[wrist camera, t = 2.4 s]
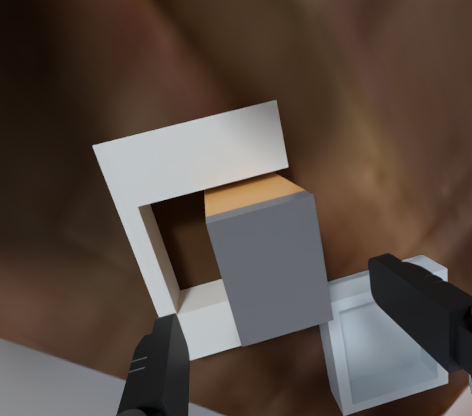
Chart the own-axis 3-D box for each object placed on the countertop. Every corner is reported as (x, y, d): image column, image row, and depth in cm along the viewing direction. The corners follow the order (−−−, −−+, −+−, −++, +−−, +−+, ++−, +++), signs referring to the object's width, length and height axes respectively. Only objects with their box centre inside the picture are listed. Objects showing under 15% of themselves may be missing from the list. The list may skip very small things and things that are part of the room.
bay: (264, 104, 19) (276, 99, 16) (302, 299, 23) (316, 323, 20) (109, 143, 18) (92, 145, 15) (180, 334, 23) (177, 364, 20)
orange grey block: (270, 170, 20) (313, 194, 12) (287, 254, 22) (333, 319, 14) (203, 187, 20) (206, 223, 12) (227, 271, 22) (242, 347, 14)
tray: (422, 254, 24) (447, 268, 21) (426, 360, 27) (448, 383, 25) (312, 286, 23) (324, 304, 21) (330, 390, 27) (343, 415, 24)
